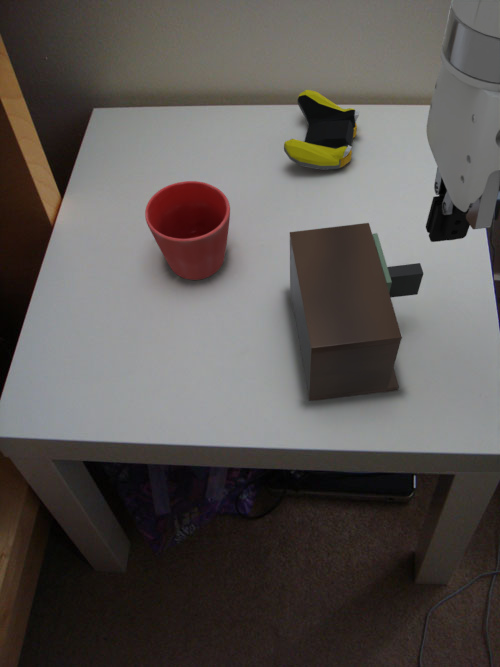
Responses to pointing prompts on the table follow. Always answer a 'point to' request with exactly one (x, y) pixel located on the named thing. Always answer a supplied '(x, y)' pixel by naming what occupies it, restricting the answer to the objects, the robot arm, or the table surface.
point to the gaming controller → (323, 133)
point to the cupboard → (342, 313)
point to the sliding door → (400, 275)
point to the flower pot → (190, 227)
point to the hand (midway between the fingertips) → (445, 233)
